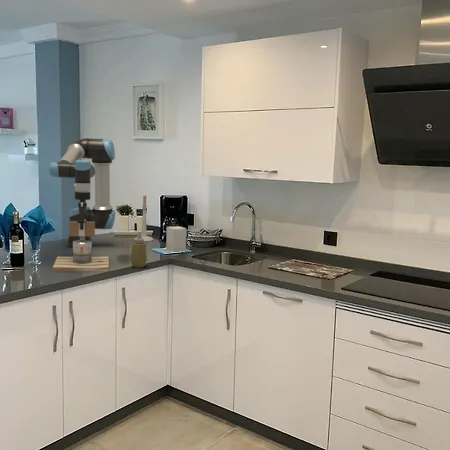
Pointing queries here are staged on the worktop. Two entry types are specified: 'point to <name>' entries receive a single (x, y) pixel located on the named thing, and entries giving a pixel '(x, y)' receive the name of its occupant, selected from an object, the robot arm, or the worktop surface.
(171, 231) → the supplement box
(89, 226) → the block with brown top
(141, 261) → the squeeze bottle
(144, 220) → the candlestick
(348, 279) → the worktop surface
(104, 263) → the base
